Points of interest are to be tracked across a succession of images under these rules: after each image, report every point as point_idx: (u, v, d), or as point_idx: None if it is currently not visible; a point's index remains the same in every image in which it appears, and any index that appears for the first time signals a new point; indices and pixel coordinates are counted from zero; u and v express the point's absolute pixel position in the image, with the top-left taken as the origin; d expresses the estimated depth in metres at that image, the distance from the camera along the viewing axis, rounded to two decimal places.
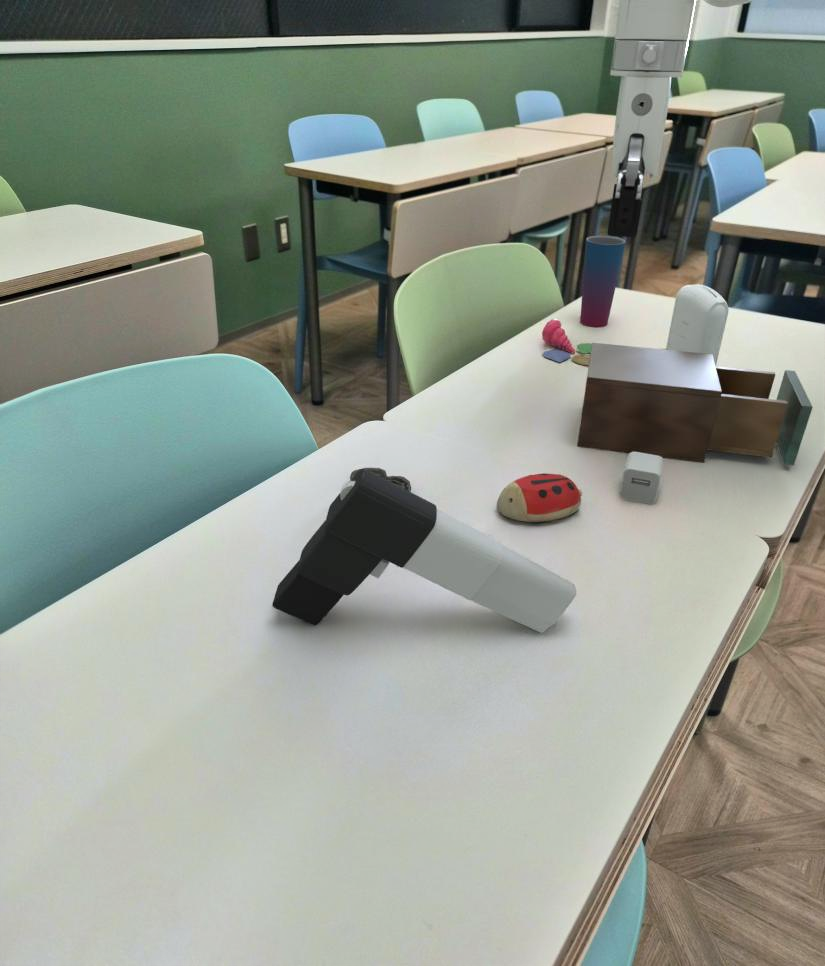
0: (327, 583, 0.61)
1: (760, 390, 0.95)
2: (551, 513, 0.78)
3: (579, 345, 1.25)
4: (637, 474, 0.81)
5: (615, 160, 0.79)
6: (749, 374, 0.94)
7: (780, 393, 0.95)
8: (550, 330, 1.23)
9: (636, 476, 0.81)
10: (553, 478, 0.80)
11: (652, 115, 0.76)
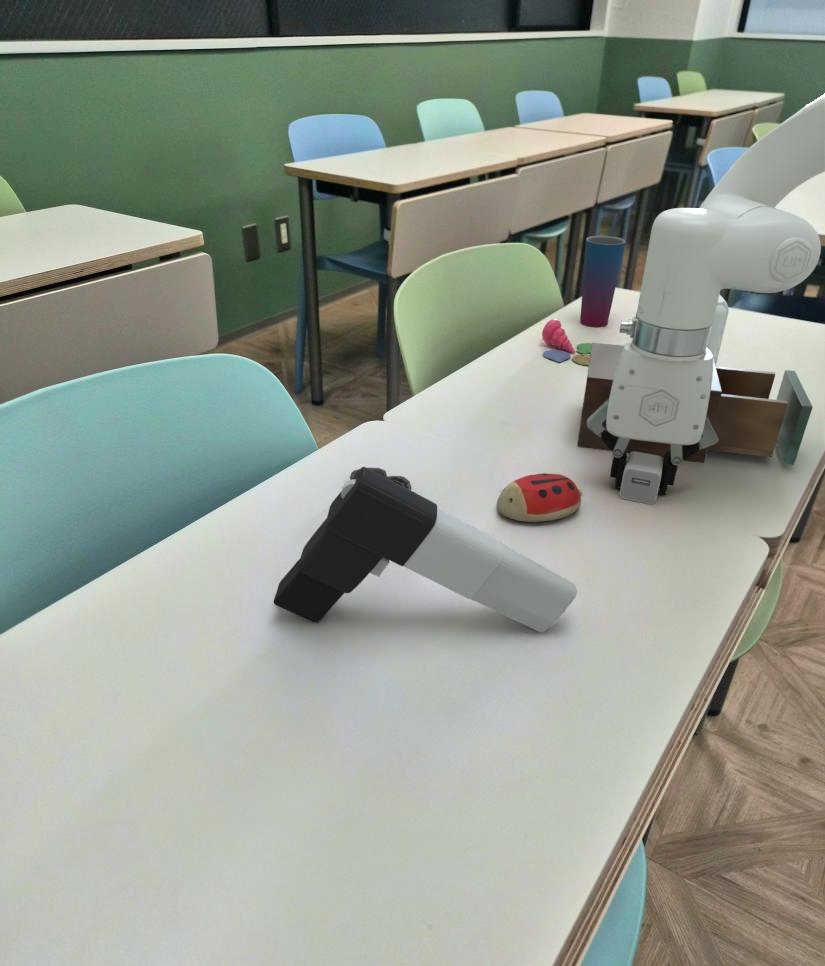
0: (328, 580, 0.62)
1: (760, 390, 0.95)
2: (551, 513, 0.78)
3: (579, 345, 1.25)
4: (637, 474, 0.81)
5: None
6: (749, 374, 0.94)
7: (780, 393, 0.95)
8: (550, 330, 1.23)
9: (636, 476, 0.81)
10: (553, 478, 0.80)
11: (614, 378, 0.79)
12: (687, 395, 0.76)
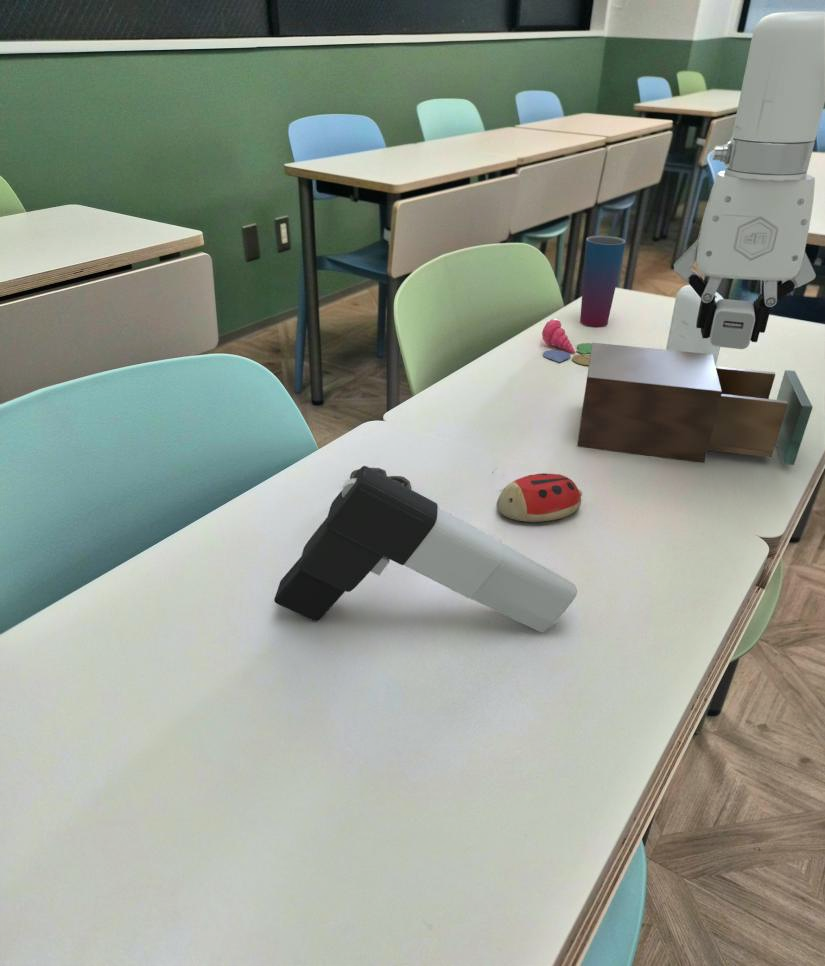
0: (328, 579, 0.62)
1: (760, 390, 0.95)
2: (551, 513, 0.78)
3: (579, 345, 1.25)
4: (730, 316, 0.78)
5: None
6: (749, 374, 0.94)
7: (780, 393, 0.95)
8: (550, 330, 1.23)
9: (728, 318, 0.78)
10: (553, 478, 0.80)
11: (706, 211, 0.75)
12: (787, 221, 0.72)
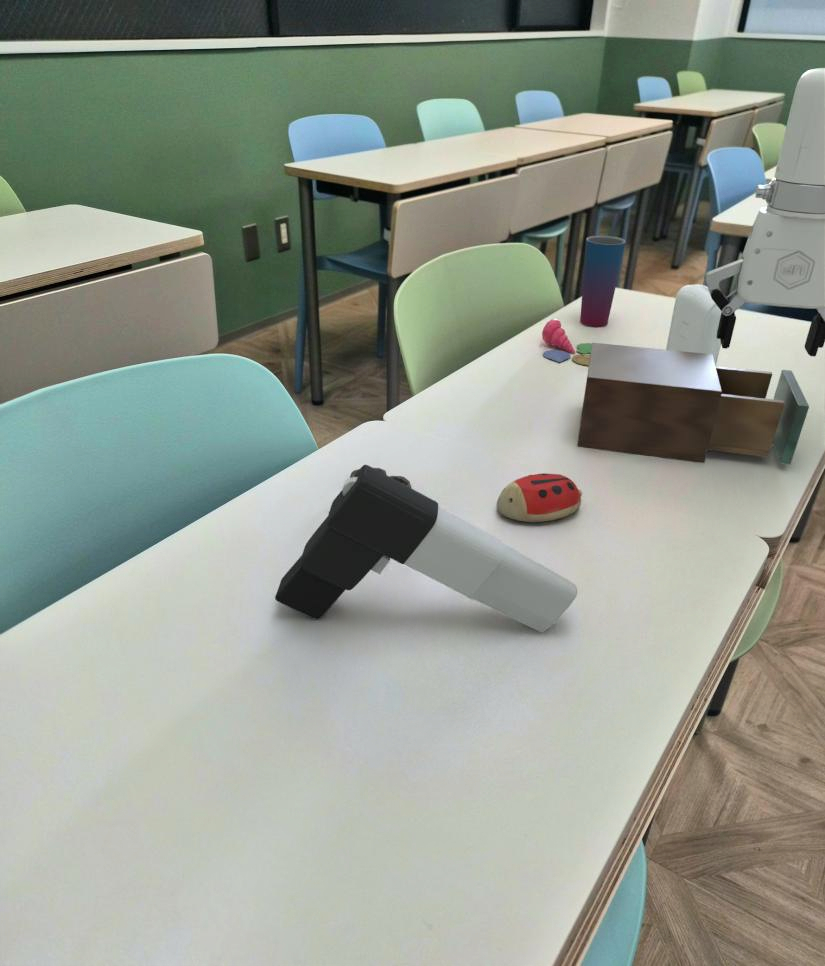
0: (329, 577, 0.62)
1: (757, 390, 0.95)
2: (551, 513, 0.78)
3: (579, 345, 1.25)
4: None
5: None
6: (746, 374, 0.94)
7: (777, 393, 0.95)
8: (550, 330, 1.23)
9: None
10: (553, 478, 0.80)
11: (749, 243, 0.82)
12: (823, 255, 0.79)
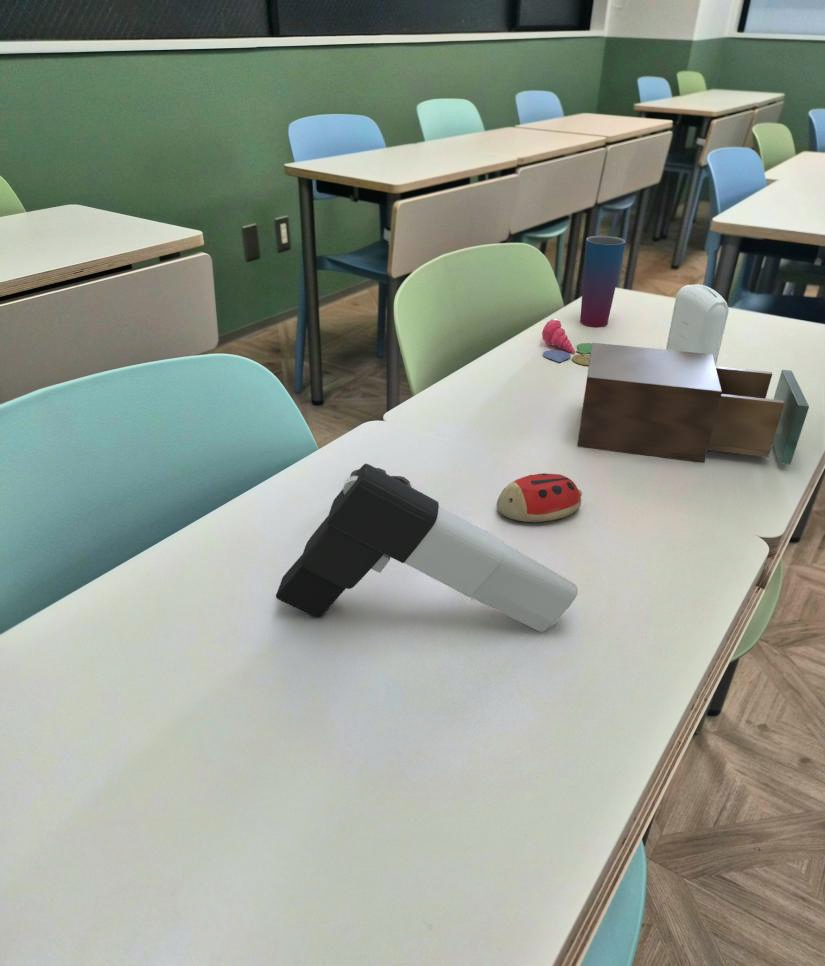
0: (329, 576, 0.62)
1: (757, 390, 0.95)
2: (551, 513, 0.78)
3: (579, 345, 1.25)
4: None
5: None
6: (746, 374, 0.94)
7: (777, 393, 0.95)
8: (550, 330, 1.23)
9: None
10: (553, 478, 0.80)
11: None
12: None
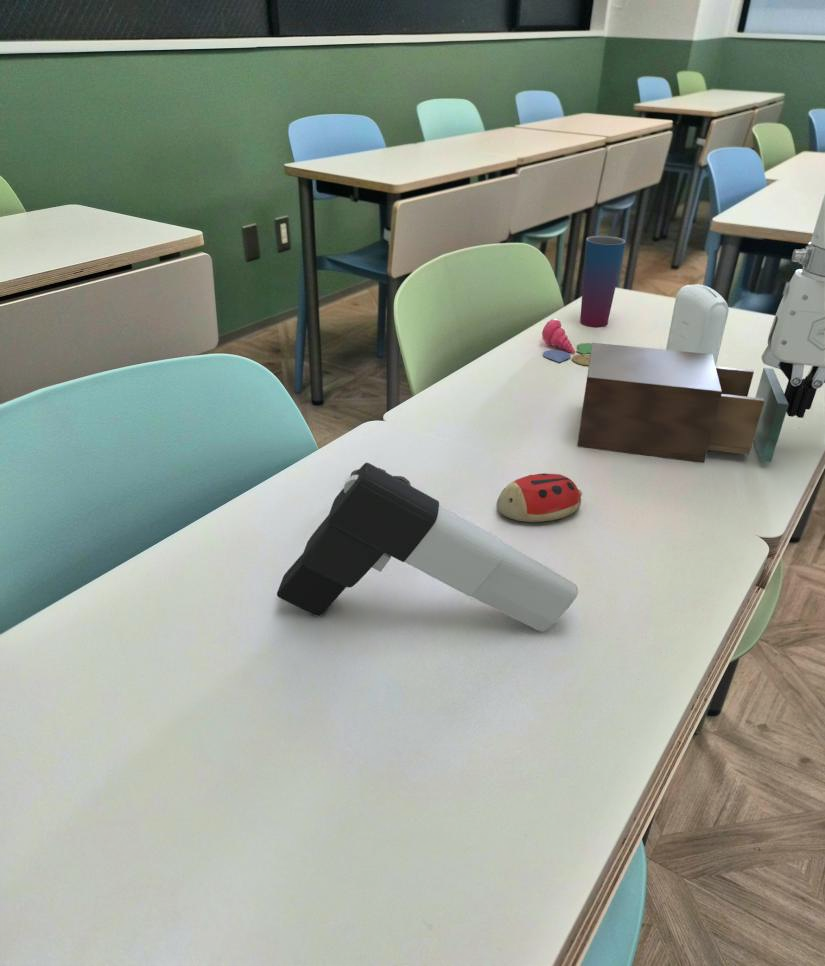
0: (330, 574, 0.62)
1: (739, 388, 0.95)
2: (551, 513, 0.78)
3: (579, 345, 1.25)
4: None
5: None
6: (728, 372, 0.95)
7: (759, 391, 0.95)
8: (550, 330, 1.23)
9: None
10: (553, 478, 0.80)
11: (784, 305, 0.84)
12: None
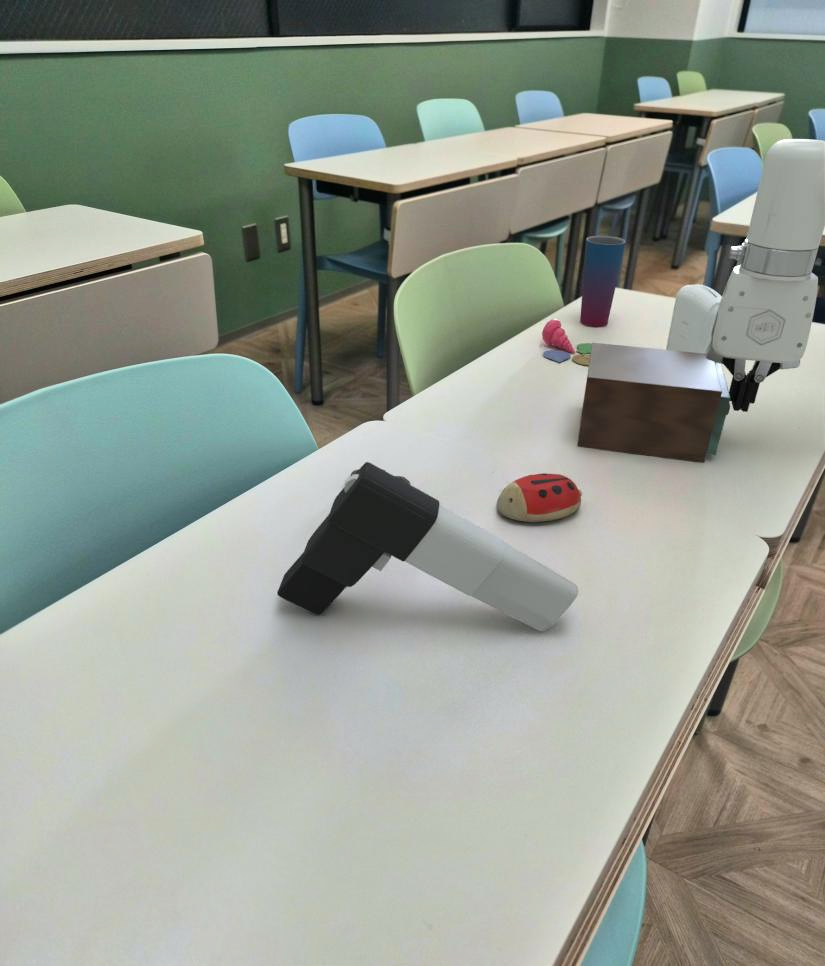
0: (330, 573, 0.62)
1: None
2: (551, 513, 0.78)
3: (579, 345, 1.25)
4: None
5: None
6: None
7: None
8: (550, 330, 1.23)
9: None
10: (553, 478, 0.80)
11: (723, 301, 0.86)
12: (793, 314, 0.83)
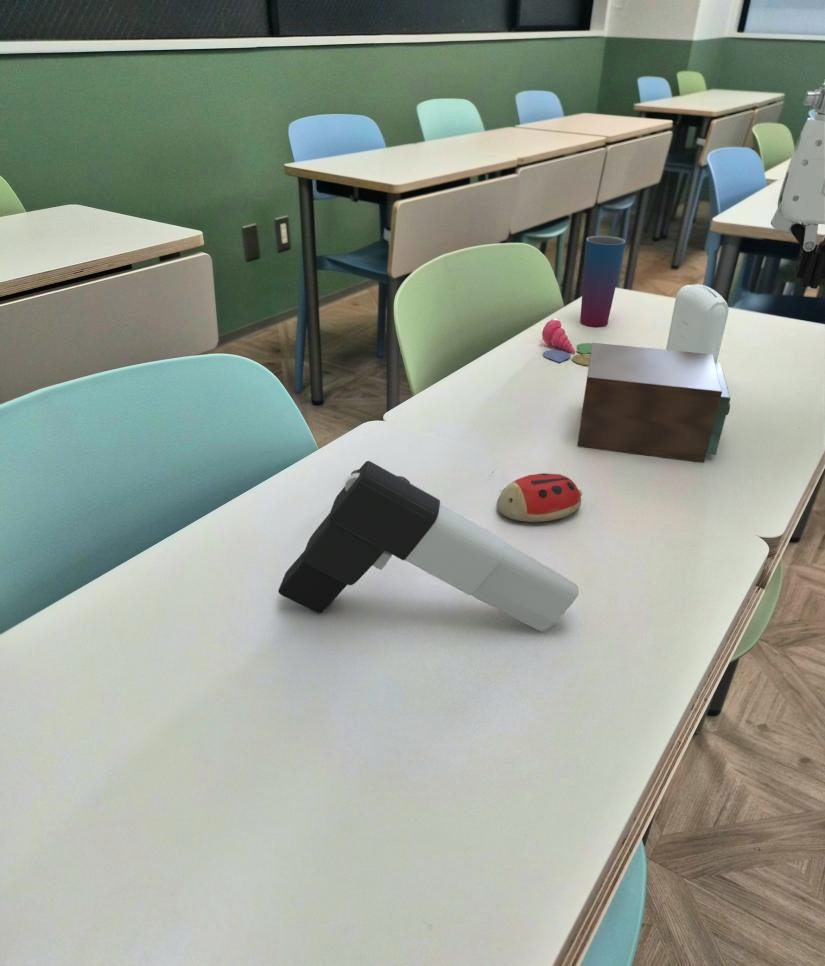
0: (331, 572, 0.63)
1: None
2: (551, 513, 0.78)
3: (579, 345, 1.25)
4: None
5: None
6: None
7: None
8: (550, 330, 1.23)
9: None
10: (553, 478, 0.80)
11: (795, 156, 0.77)
12: None
